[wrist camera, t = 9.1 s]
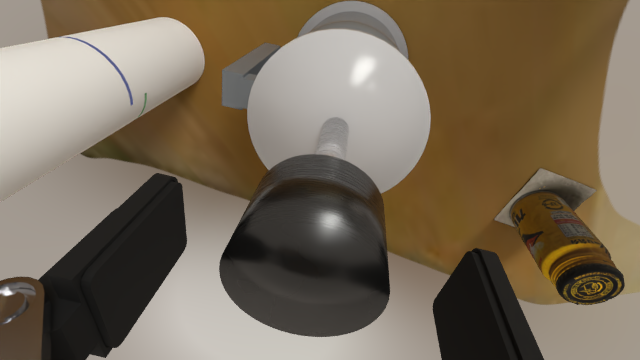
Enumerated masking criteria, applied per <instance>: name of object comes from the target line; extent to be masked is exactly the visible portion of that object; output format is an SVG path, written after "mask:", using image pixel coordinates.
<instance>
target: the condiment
mask: <svg viewBox="0 0 640 360" xmlns="http://www.w3.org/2000/svg"><path fill="white" fill-rule="evenodd" d="M544 186H546V187H544ZM543 187H544V188H543ZM539 188H541V189H539ZM595 191H597V190H595V189H593V188H590V187H588V186H586V185H583V184H581V183H578V182H576V181H573V180H571V179H568V178H565V177H563V176H560V175H557V174H555V173H552V172H550V171H547V170H544V169H542V168H540V169H539V170H538V171H537V173H536V174H535V175H534V176H533V177H532V178H531V179H530V181H529V182H528V183H527V184H526V185H525V186H524V187H523V188H522V189H521V190H520V191H519V192H518V193H517V194H516V195H515V196H514V197H513V198H512V199H511V201H510V202H509V203H508V204H507V205H506V206H505V207H504V208H503V209H502V211H501V212H500V213H499V214H498V215H497V216H496V217H495V219H494V220H496V221H499V222H501V223H504V224H507V225H510V226H513V227H515V228H516V230H517V231H518V233H519V235H520V236H521V238H522V240H523V242H524V243H525V245H526V246H527V248H528V250H529V251H530V253H531V255H532V256H533V258H534V260H535V262H536V263H537V265H538V267H539V269H540V270H541V272H542V274H543V275H544V276H545V277H546V278H547V279H548V280H550V281H551V282H552V284H553V285H554V286H555V287H556V289H557V291H558V293H559V294H560V295H561V296H562V297H563V298H564V299H565V300H567V301H569V302H572V303H575V304H577V305H578V304H582V305H592V304H597V303H602V302H605V301H607V300H609V299H612V298H614V297H616V296H617V295H618V294H620V292H621V291H622V290H623V288H624V278H623V274H622V273H621V272H620V271H619V270H618V269H617V268H616V266H615V264H614V263H613V261H612V260H611V256H610V253H609V251H608V250H607V249H606V247H605V246H604V245H603V244H602V243H601V242H600V241H599V240H598V238H597V237H596V236H595V235H594V234H593V233H592V232H591V230H590V229H589V228H588V227H587V226H586V225H585V224H584V222H583V221H582V220H581V219H580V218H579V217H578V216H577V215H576V213H575V212H574V211H575V209H576V208H577V207H578V206H580V205H581V203H583V202H584V201H585V200H586V199H588V198H589V197H590V196H591V195H592V194H593V193H594V192H595Z"/></svg>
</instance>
